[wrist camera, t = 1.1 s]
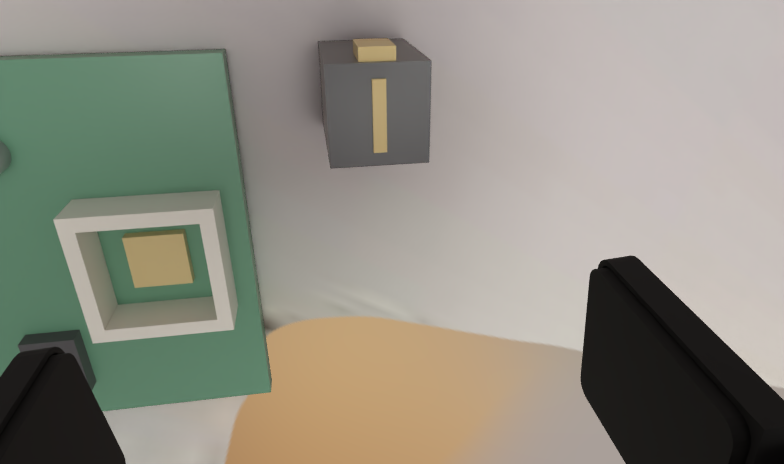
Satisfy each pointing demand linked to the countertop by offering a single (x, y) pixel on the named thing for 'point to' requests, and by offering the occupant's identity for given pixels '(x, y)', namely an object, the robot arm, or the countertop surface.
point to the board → (129, 225)
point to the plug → (375, 102)
